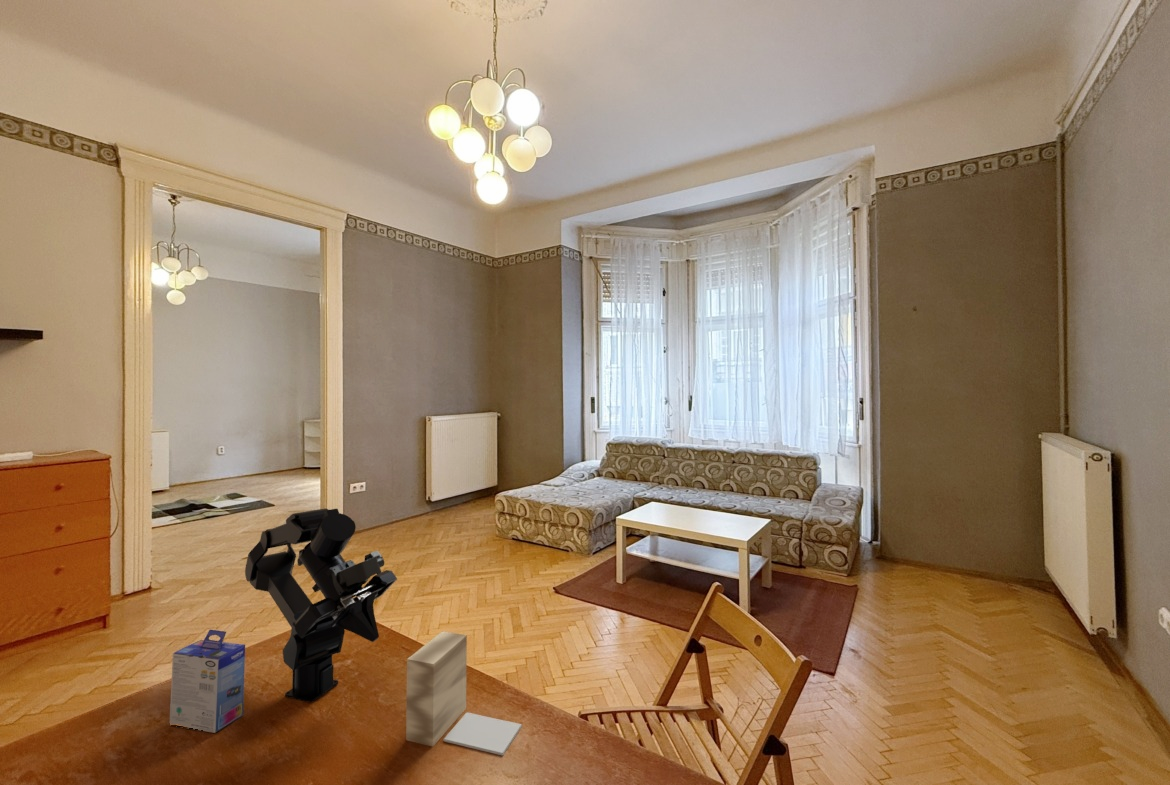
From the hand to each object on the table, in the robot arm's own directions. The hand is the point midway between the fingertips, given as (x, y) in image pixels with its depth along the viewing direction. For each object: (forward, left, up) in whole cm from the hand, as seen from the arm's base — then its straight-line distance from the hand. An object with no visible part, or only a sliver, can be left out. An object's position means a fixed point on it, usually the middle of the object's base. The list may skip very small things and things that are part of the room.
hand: (376, 639), depth 86 cm
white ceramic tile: (+21, +1, -13) cm, 25 cm away
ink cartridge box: (-26, -10, -13) cm, 31 cm away
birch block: (+12, +1, -13) cm, 18 cm away
